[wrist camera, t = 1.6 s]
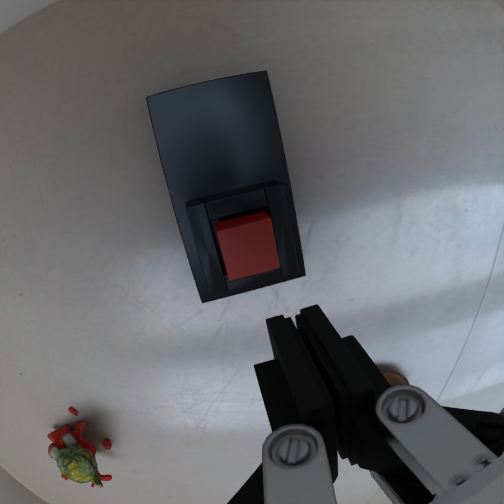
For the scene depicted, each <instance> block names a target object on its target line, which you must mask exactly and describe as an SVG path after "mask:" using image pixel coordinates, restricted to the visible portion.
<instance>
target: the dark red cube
mask: <svg viewBox="0 0 504 504" xmlns="http://www.w3.org/2000/svg"><path fill="white" fill-rule="evenodd" d="M215 229H216V233H217V237H218V241H219V245H220V249H221V253H222V257H223V260H224V264H225V268H226V272H227V275H228V279H229V281H232V280H236V279H240V278H244V277H247V276H251V275H255V274H259V273H263V272H266V271H270V270H274V269H277V268H280V262H279V257H278V252H277V247H276V241H275V236H274V231H273V226H272V221H271V218H270V217H269V216H268V215H267V214H266V213H265V212H264V211H259V212H255V213H251V214H247V215H243V216H239V217H235V218H231V219H227V220H223V221H219V222H216V223H215Z"/></svg>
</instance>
